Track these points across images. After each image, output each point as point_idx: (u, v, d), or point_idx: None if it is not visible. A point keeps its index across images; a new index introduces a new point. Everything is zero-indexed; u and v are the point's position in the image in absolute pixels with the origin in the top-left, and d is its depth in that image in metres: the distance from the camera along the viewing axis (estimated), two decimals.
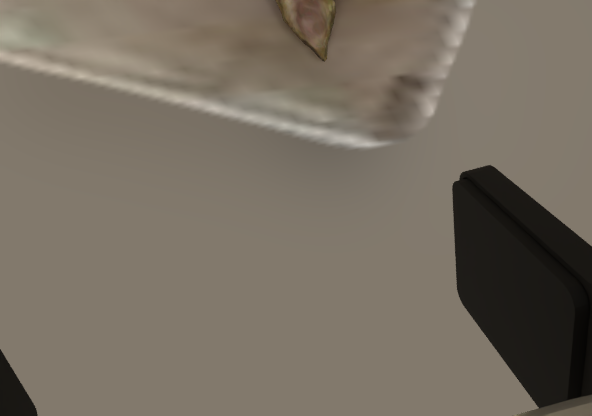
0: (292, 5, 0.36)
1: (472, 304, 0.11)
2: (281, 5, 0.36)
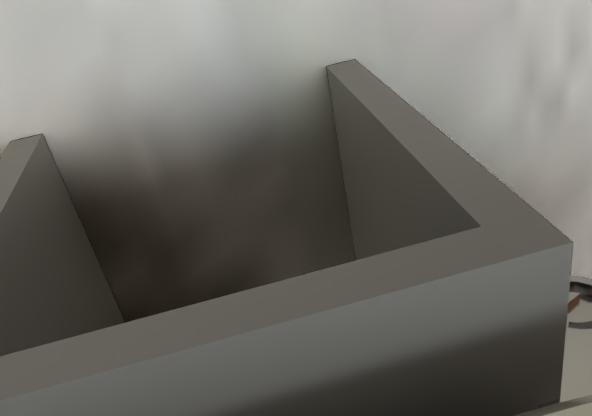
0: None
1: None
2: None
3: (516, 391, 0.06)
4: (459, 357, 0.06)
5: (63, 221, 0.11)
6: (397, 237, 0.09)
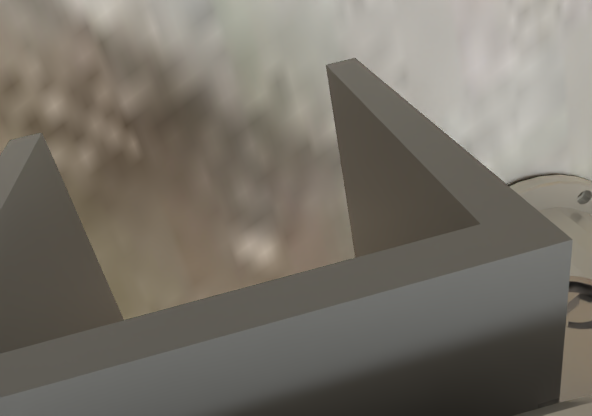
0: None
1: None
2: None
3: (515, 389, 0.06)
4: (458, 355, 0.06)
5: (62, 220, 0.11)
6: (397, 236, 0.09)
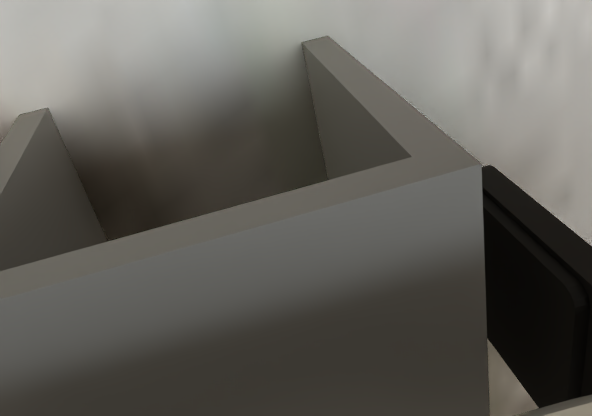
0: None
1: None
2: None
3: (447, 296, 0.07)
4: (395, 264, 0.07)
5: (68, 185, 0.12)
6: None
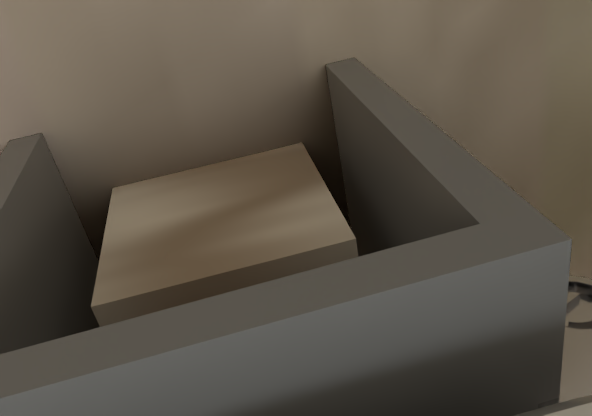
0: None
1: None
2: None
3: None
4: None
5: None
6: None
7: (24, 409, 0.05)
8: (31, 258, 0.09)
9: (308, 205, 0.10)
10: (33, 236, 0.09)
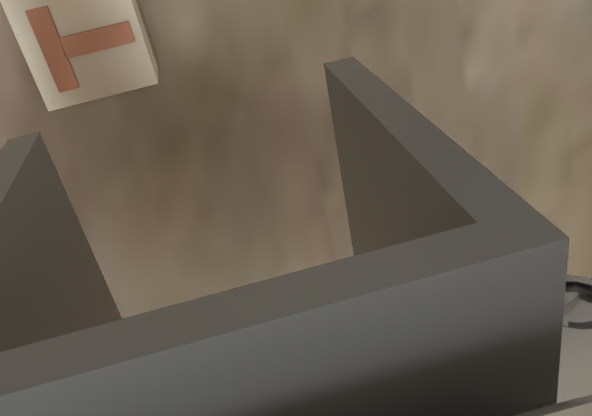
0: None
1: None
2: None
3: None
4: None
5: None
6: None
7: (20, 407, 0.05)
8: (28, 257, 0.09)
9: None
10: (30, 235, 0.09)
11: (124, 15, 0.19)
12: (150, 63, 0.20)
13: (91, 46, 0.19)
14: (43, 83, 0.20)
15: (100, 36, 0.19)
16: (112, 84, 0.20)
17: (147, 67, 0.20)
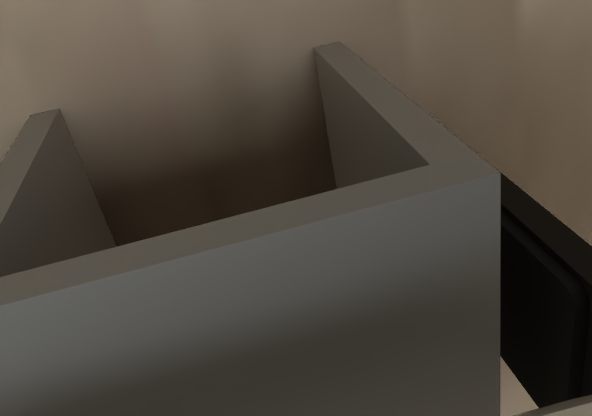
0: None
1: None
2: None
3: None
4: None
5: None
6: None
7: (62, 303, 0.06)
8: (54, 212, 0.10)
9: None
10: (55, 194, 0.10)
11: None
12: None
13: None
14: None
15: None
16: None
17: None
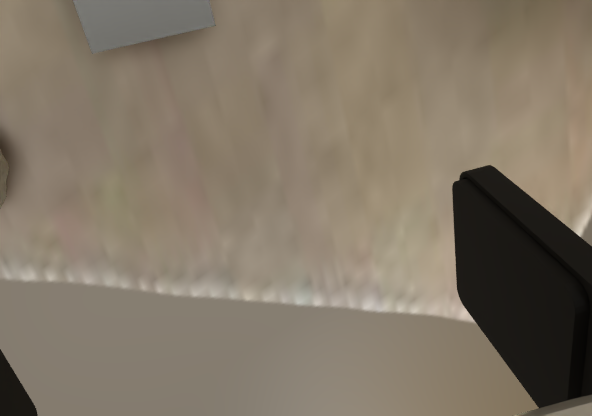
0: None
1: (472, 304, 0.11)
2: None
3: None
4: None
5: None
6: None
7: None
8: None
9: None
10: None
11: None
12: None
13: None
14: None
15: None
16: None
17: None
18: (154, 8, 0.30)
